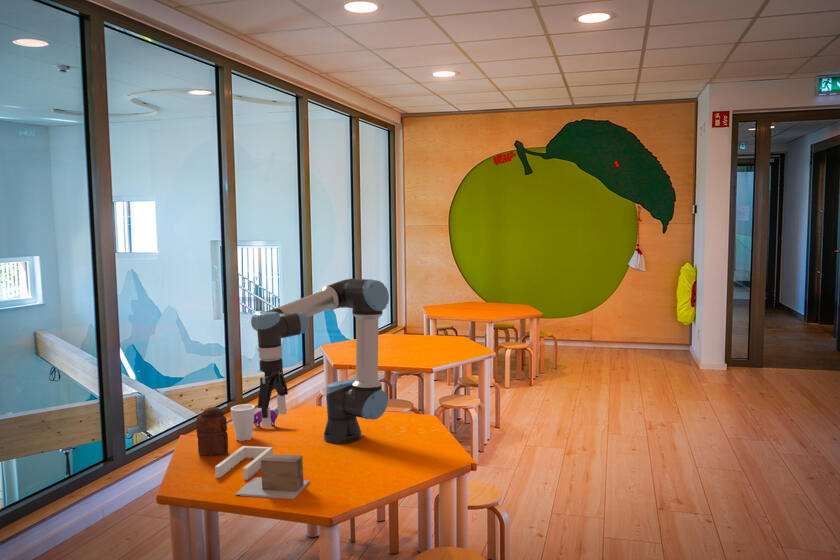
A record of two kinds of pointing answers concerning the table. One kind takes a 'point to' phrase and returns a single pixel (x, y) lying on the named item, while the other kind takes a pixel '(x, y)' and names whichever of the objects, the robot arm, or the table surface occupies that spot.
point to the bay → (239, 456)
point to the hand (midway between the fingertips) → (274, 420)
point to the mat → (256, 490)
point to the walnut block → (282, 472)
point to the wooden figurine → (212, 432)
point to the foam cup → (243, 421)
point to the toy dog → (272, 415)
